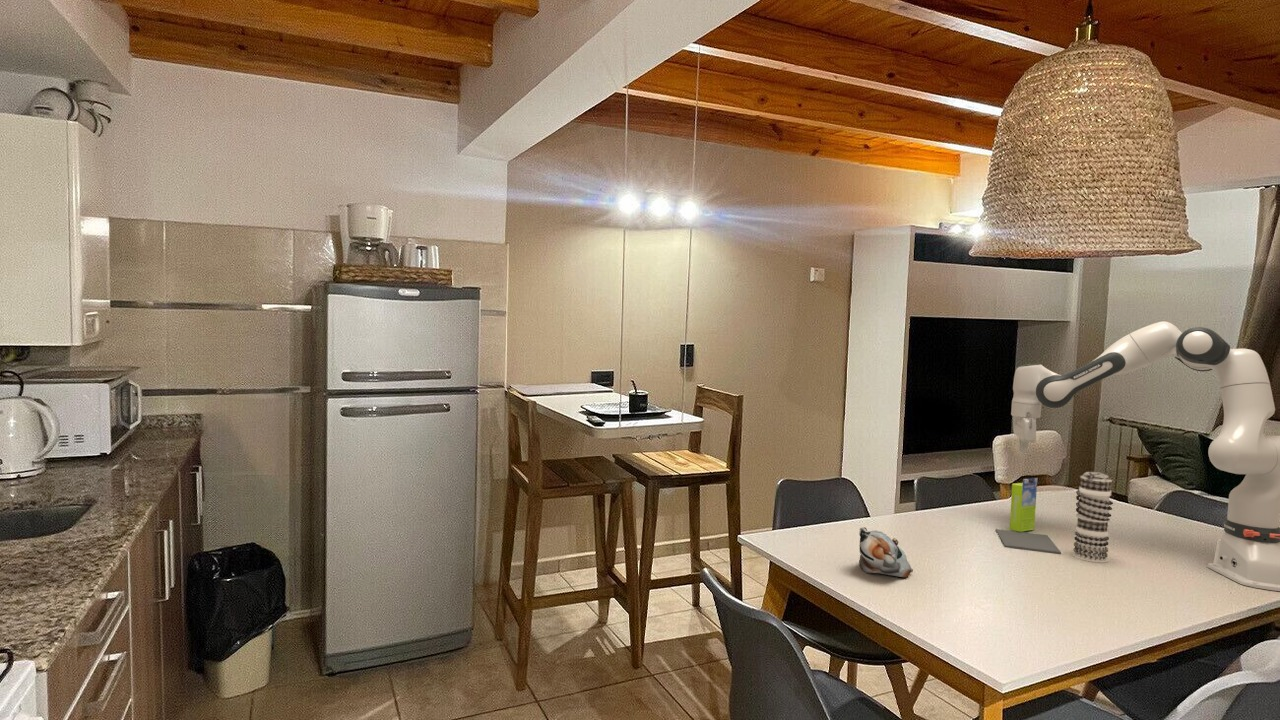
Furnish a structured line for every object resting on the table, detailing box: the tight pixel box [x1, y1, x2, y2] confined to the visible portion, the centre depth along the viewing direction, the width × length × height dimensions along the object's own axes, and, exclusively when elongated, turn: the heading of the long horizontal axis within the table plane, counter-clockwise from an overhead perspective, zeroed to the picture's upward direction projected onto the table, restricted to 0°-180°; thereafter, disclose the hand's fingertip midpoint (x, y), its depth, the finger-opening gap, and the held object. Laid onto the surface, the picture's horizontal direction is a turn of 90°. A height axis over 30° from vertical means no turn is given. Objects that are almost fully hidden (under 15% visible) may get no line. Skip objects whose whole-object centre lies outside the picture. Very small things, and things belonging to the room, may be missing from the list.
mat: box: [995, 528, 1062, 555], centre depth 224 cm, size 19×15×1 cm
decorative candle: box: [1072, 471, 1114, 564], centre depth 209 cm, size 9×9×25 cm
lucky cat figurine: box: [858, 526, 914, 579], centre depth 189 cm, size 15×12×14 cm
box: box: [1009, 477, 1038, 532], centre depth 236 cm, size 10×4×17 cm, turn 127°
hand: (1022, 451), depth 243 cm, fingers closed
